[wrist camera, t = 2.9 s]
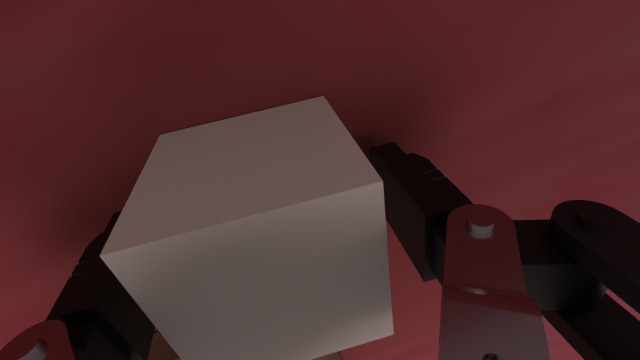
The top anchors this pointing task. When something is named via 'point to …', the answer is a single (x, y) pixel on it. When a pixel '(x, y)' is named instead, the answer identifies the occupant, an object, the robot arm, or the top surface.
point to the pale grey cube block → (258, 238)
